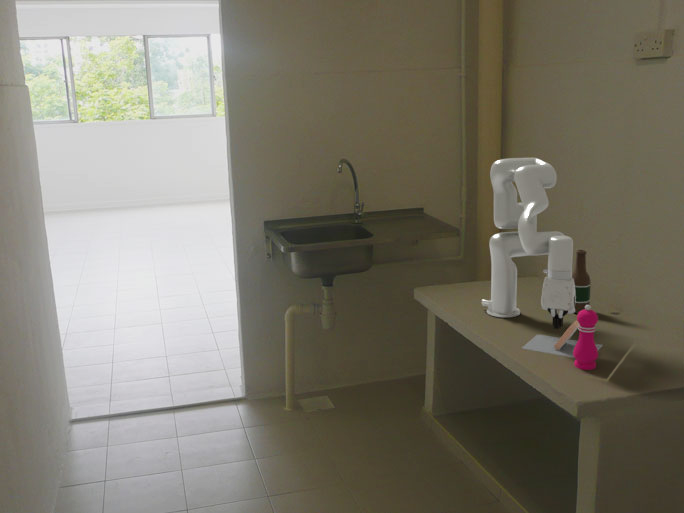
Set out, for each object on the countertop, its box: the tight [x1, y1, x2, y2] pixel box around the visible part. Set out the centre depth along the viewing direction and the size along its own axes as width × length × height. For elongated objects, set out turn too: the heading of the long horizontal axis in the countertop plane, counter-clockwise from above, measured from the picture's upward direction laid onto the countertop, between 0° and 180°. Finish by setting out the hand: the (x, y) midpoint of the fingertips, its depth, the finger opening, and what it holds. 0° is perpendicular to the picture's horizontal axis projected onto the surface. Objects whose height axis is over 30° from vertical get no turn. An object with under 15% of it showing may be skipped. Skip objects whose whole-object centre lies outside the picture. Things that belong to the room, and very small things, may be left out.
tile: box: [554, 319, 579, 350], centre depth 226 cm, size 2×8×9 cm
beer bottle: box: [572, 249, 591, 315], centre depth 264 cm, size 8×8×24 cm
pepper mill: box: [573, 304, 599, 371], centre depth 209 cm, size 7×7×20 cm
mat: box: [521, 333, 604, 359], centre depth 228 cm, size 22×16×1 cm
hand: (557, 328), depth 227 cm, fingers closed
